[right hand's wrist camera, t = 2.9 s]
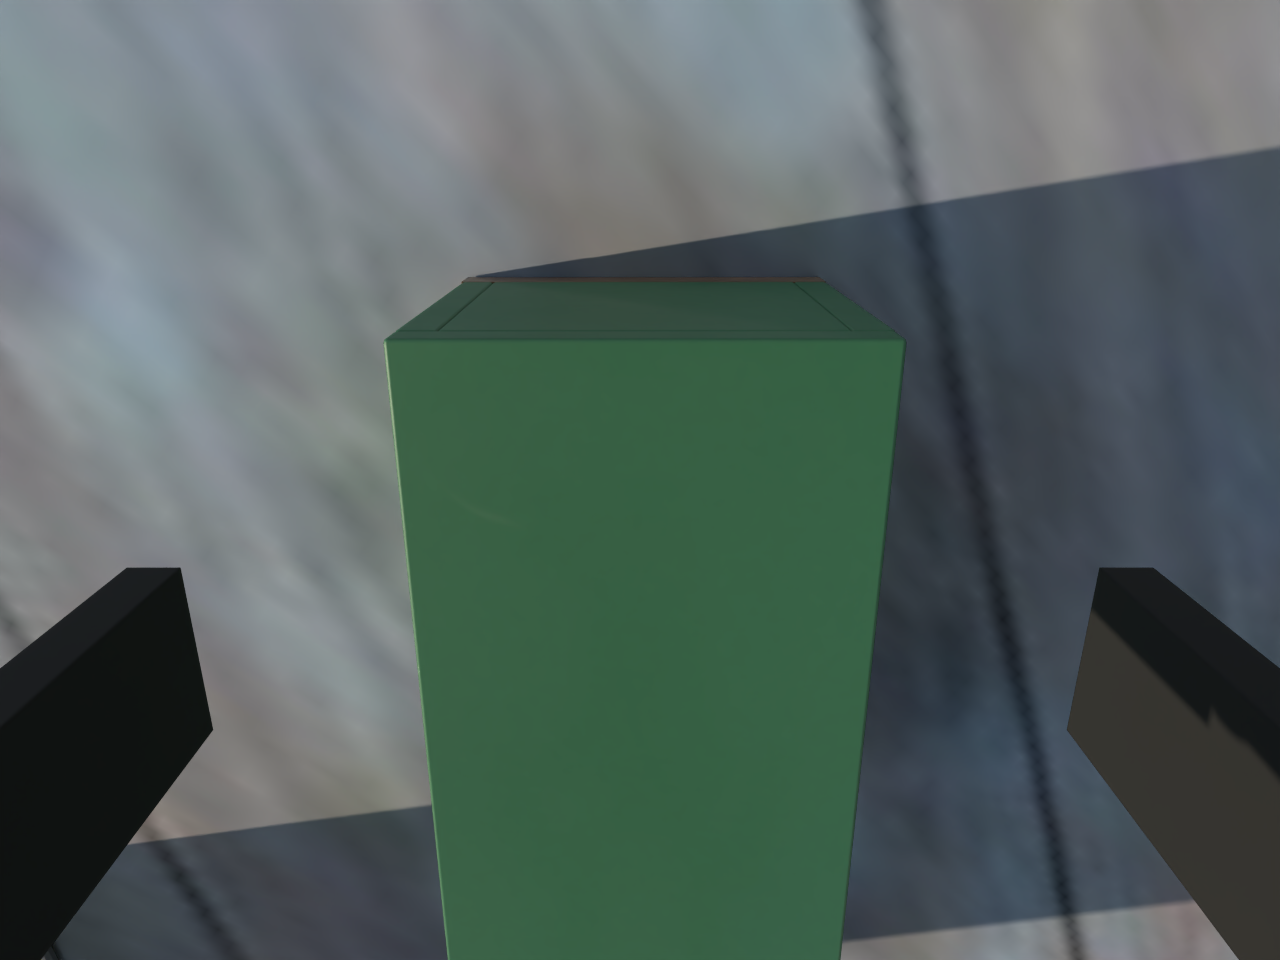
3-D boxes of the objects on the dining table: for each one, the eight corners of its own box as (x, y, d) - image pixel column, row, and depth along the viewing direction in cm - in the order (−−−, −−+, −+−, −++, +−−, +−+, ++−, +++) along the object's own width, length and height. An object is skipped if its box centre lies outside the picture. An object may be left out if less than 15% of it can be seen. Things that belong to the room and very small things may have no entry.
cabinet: (785, 763, 32) (838, 989, 23) (500, 764, 32) (449, 989, 23) (819, 277, 26) (909, 338, 17) (467, 277, 26) (381, 338, 17)
